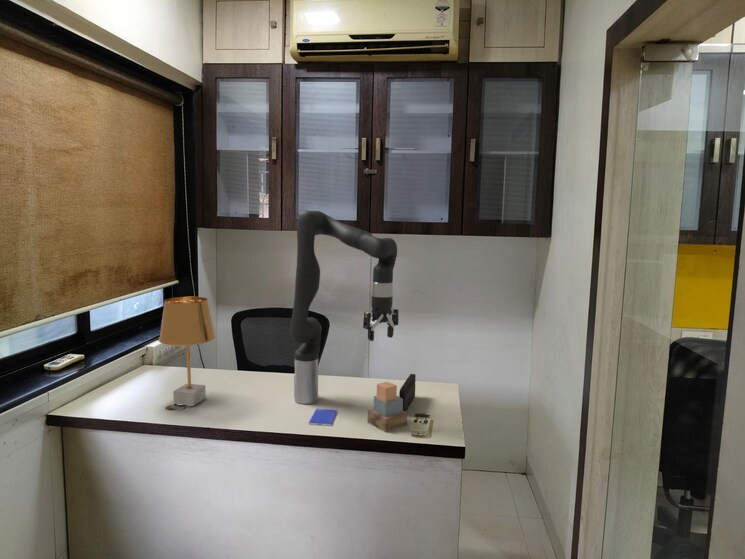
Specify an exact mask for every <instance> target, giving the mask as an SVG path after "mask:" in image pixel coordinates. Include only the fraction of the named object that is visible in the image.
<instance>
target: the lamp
mask: <svg viewBox="0 0 745 559" xmlns="http://www.w3.org/2000/svg"><path fill="white" fill-rule="evenodd" d="M161 318H162V319H161V324H160V333H159V338H158V342H159V343H160V344H163V345H167V346H175V347H176V346H179V347H180V346H181V347H182V346H184V347H186V350H185V351H186V373H187V376H186V377H187V383H184V384H183V385H181V386H179V387H178V388H175V389H174V390H173V391H172V392H173V393H172V395H173V405H174V404H182V405H190V406H194V405H196V404H197V403H199V402H200V401H201V402H203V401H204V400H206V399H205V398H207V395H206V394H207V392H206V391H207V390H206V384H196V383H192V372H191V369H192V368H191V367H192V366H191V346H194V345H200V344H201V345H202V344H206V343H209V342H212V341H214V340H215V339H216V338H217V335H216V332H215V328H214V322H213V319H212V314H211V309H210V304H209V300H208V298H207V297H203V296H178V297H172V298H168V299H167V298H166V299H165V300H164V303H163V311H162V317H161ZM203 399H204V400H203ZM202 400H203V401H202ZM201 402H200V403H201ZM200 403H199V404H200ZM197 405H198V404H197ZM197 405H196V406H197ZM194 407H195V406H194Z"/></svg>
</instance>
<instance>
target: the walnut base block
mask: <svg viewBox="0 0 745 559" xmlns="http://www.w3.org/2000/svg"><path fill="white" fill-rule="evenodd" d="M367 424H370V425H371V426H373V427H375V428H377V429H379V430H380V431H382V432H385V433H387V432H390V431H394V430H396V429H399V428H402V427H406V426H407V425H408V411H407V412H405V411H403V413H399V414H395V415H391V416H387V417H385V416H383V415H381V414H380V413H378V412H377V411H375V410H374V408H372V409H368V410H367Z"/></svg>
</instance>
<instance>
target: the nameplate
mask: <svg viewBox="0 0 745 559" xmlns="http://www.w3.org/2000/svg"><path fill="white" fill-rule="evenodd" d="M398 397H400V398H402V399H403V411H405V412H406V411H407V412H408V409H409V408H410V407H411V405H410V404H412V403H413V401H414V400H413V399H415V397H416V374H415V373H410V374H409V375H408V377H407V379H406V380H405V381H404V383H403V384H402V386H401V387H400V388H399V395H398Z"/></svg>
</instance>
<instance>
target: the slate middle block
mask: <svg viewBox="0 0 745 559" xmlns="http://www.w3.org/2000/svg"><path fill="white" fill-rule="evenodd" d="M373 409H374V410H375V411H377V412H378V413H380V414H381V415H383V416H385V417H387V416H391V415H395V414H399V413H403V399H402V398H400V397H399V395H397V396H396V399H395V400H391V401H388V402H384V401H382V400H380V399H378V398H377V395H374V396H373Z"/></svg>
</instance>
